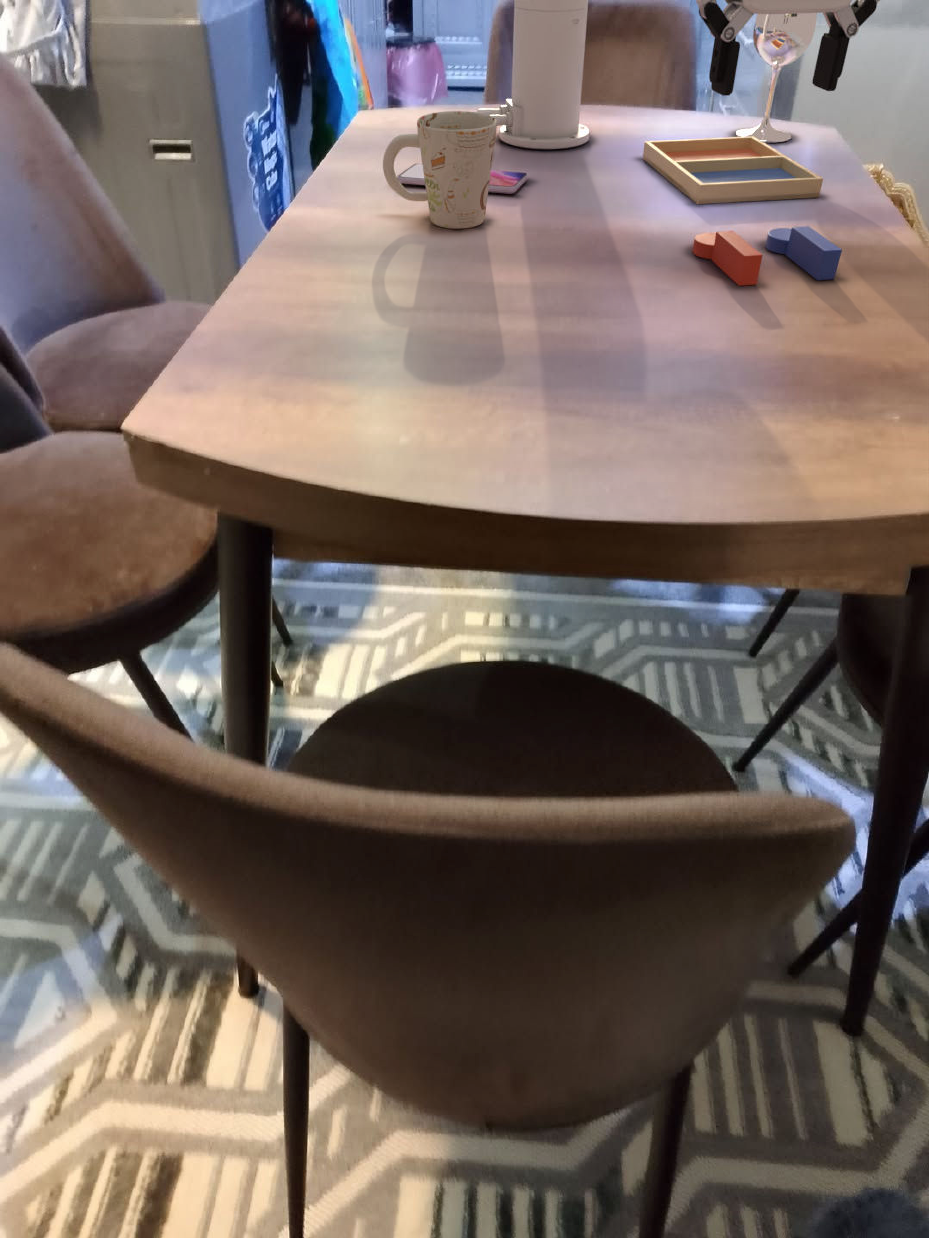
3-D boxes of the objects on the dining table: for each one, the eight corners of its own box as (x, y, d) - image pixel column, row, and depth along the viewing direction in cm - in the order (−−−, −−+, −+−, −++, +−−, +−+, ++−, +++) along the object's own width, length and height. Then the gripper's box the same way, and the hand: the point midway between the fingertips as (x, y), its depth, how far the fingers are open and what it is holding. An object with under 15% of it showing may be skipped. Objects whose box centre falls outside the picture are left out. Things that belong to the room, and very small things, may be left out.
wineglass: (757, 146, 125) (792, -32, 112) (723, 133, 131) (752, -38, 117) (803, 140, 127) (842, -35, 114) (768, 127, 133) (801, -41, 120)
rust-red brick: (767, 284, 87) (774, 254, 85) (727, 286, 86) (733, 257, 85) (722, 245, 95) (728, 217, 93) (686, 247, 95) (691, 219, 93)
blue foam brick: (845, 278, 88) (853, 249, 86) (806, 281, 87) (813, 251, 86) (794, 240, 96) (800, 213, 94) (758, 243, 96) (764, 215, 94)
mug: (487, 235, 97) (489, 132, 91) (374, 227, 99) (368, 126, 93) (500, 211, 104) (503, 113, 97) (394, 204, 105) (389, 107, 99)
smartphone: (414, 162, 115) (529, 172, 112) (415, 170, 116) (529, 180, 113) (394, 177, 110) (514, 187, 107) (395, 184, 111) (514, 195, 107)
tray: (697, 204, 106) (700, 185, 104) (642, 158, 120) (644, 141, 119) (819, 197, 108) (823, 178, 106) (750, 153, 122) (753, 136, 121)
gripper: (898, -164, 74) (842, 79, 85) (695, -163, 71) (665, 86, 82) (952, -165, 68) (884, 95, 79) (734, -165, 66) (695, 103, 77)
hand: (772, 90), depth 81 cm, fingers open, 9 cm apart
